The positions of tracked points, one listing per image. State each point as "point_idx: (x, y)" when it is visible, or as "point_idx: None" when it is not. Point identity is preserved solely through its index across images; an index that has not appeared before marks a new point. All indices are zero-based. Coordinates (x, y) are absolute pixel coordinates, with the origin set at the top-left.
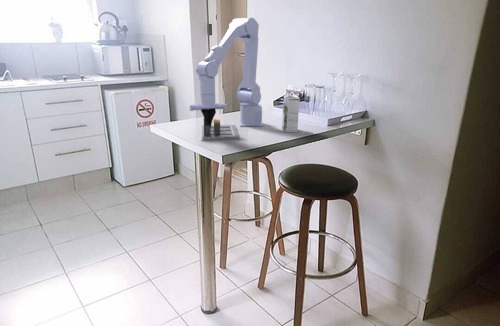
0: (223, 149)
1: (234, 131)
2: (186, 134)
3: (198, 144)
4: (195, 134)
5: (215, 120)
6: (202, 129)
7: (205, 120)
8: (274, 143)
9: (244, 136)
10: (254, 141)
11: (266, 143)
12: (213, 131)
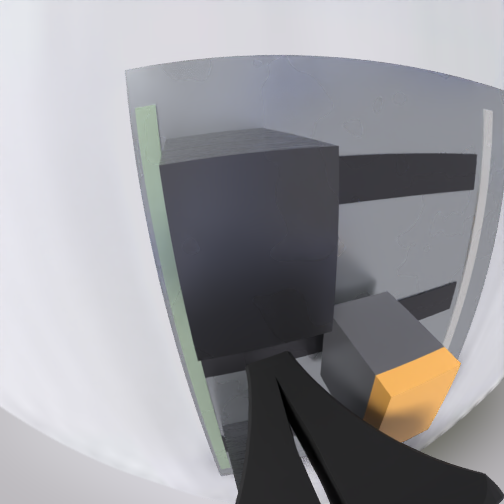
0: (323, 492)
1: (462, 316)
2: (35, 361)
3: (209, 492)
4: (115, 358)
5: (391, 436)
6: (173, 312)
7: (252, 442)
8: (500, 380)
9: (473, 330)
10: (467, 387)
11: (484, 390)
12: (310, 356)
